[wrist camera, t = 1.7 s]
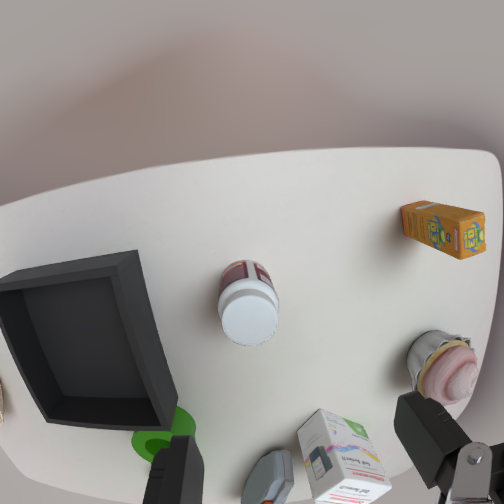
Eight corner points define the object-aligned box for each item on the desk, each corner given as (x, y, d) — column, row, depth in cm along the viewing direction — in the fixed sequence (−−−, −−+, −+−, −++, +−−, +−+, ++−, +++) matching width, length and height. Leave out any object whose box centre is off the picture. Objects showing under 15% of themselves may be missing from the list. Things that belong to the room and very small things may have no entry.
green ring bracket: (135, 400, 32) (125, 425, 27) (193, 405, 32) (189, 432, 28) (155, 470, 35) (150, 492, 31) (202, 474, 36) (200, 498, 31)
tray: (16, 270, 28) (-14, 286, 22) (137, 249, 28) (116, 265, 22) (64, 396, 32) (46, 422, 26) (178, 397, 32) (170, 431, 26)
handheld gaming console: (254, 493, 37) (258, 532, 30) (237, 491, 37) (238, 530, 29) (290, 442, 35) (300, 487, 27) (269, 439, 34) (276, 486, 26)
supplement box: (397, 205, 28) (459, 219, 19) (423, 199, 28) (487, 210, 19) (401, 237, 29) (462, 261, 19) (427, 230, 29) (489, 251, 19)
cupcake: (440, 378, 34) (477, 419, 24) (386, 384, 33) (421, 435, 24) (462, 317, 32) (511, 351, 22) (408, 318, 31) (457, 361, 22)
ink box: (364, 424, 35) (404, 505, 20) (340, 446, 36) (370, 527, 21) (319, 406, 33) (353, 501, 19) (294, 430, 34) (316, 524, 20)
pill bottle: (218, 304, 30) (213, 348, 21) (222, 256, 29) (217, 287, 20) (267, 308, 30) (278, 353, 22) (273, 261, 29) (288, 293, 21)
